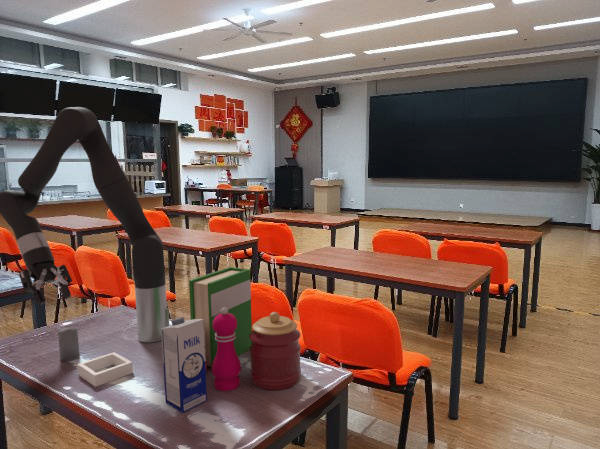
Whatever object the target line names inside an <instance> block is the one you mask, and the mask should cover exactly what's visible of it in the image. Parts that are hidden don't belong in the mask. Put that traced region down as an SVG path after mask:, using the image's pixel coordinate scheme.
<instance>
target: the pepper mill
mask: <svg viewBox="0 0 600 449" xmlns="http://www.w3.org/2000/svg"><path fill="white" fill-rule="evenodd" d="M236 328H237V320H236V318H235V316H234V315H232V314H230V313H228V309H227V308H222V309H221V314H219V315H217V316H216V317H215V318H214V320H213V330H214V331H215V332H216V333H215V340H216V341H217V354H216V356H215V359H214V361H213V364H212V371H211V373H212V375H213V376H214V380H213V381H214V383H213V384H214V389H216V390H218V391H220V392H221V391H222V392H229V391H234V390H236V389H237V388H239V386H240V383H241V381H240V380H241V379H240V373H241V371H242V364H241V361H240V360H241V359H240V358H239V356H237V354H236V351H235V348H234V339H235V338H236V336H235V334H236V333H235V332H234V331H235V329H236Z"/></svg>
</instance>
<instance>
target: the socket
mask: <svg viewBox="0 0 600 449" xmlns="http://www.w3.org/2000/svg"><path fill="white" fill-rule="evenodd" d="M113 365H114V366H113ZM110 366H113V367H110ZM107 367H109V368H107ZM133 367H134V366H133V361H131V360H129V359H127V358H126V357H124V356H122V355H120V354H118V353H116V352H114V351H113V352H111V353H108V354H105V355H101V356H98V357H95V358H93V359H90V360H85V361H84V362H80V363H77V373H78V376H79V377H80V378H82V379H83V380H85V381H86V382H88V383H89V384H90V385H92V386H93V387H95V388H96V387H99V386H101V385H104V384H106V383H110V382H112V381H115V380H119V379H120V378H123V377H126V376H129V375H131V374H133V372H134V370H133ZM105 368H107V369H105ZM102 369H104V370H102ZM99 370H101V371H99ZM96 371H99V372H96Z"/></svg>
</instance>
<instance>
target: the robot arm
mask: <svg viewBox="0 0 600 449" xmlns="http://www.w3.org/2000/svg"><path fill="white" fill-rule="evenodd" d="M102 128H103V127H102V126H101V123H100V121H99V120H98V117H97V116H96V114H95V113H94V112H93V111H92V110H90V109H88V108H87V107H83V106H82V107H81V106H75V107H74V106H73V107H72V106H71V107H65V108H63V109H61V110H60V111H59V112H58V113H57V116H55V119H54V121H53V123H52V125H51V128H50V129H49V132H48V134H47V135H46V136H45V137H46V138H45V139H44V141H43V143H42V145H41V146H40V147H39V149H38V151H37V152H36V154H35V155H34V157H33V158H32V159H31V161H30V162H29V164H28V165H27V166H26V168H24V170H23V171H22V173H21V174H20V175H19V177H18V179H17V184H18V186H19V187H20V188H21V189H22V190H21V191H20V190H13V189H12V190H11V189H5V190H2V191H0V215H1V217H2V218H3V219H4V220H5V222H6V223H7V225H9V227H10V228H11V229H12V231H13V234H14V236H15V239H16V243H17V244H18V245H17V246H18V249H19V251H20V255H21V258H22V259H23V262H24V264H25V267H26V268H25V269H24V270H22V271H21V272H19V273H18V276H19V279H20V282H21V285H22V288H23V291H24V292H25V293H31V294H32V295H33V298H34V300H35V302H36V303H37V304H38V305H44V304H45V303H46V299H45V296H44V294H43V291H42V289H41V287H42V285H43V284H46V283H51V284H52V285H56V286H58V287H59V290H60V292H61V295H62V298H63V299H64V300H68V299H69V298H71V291H70V289H69V284H70V283H72V282H73V279H72V277H71V275H70V273H69V271H68V268H67V267H66V266H67V265H66V264H61V265H60V266H57V265H55V258H54V255H53V252H52V250H51V248H50V247H51V246H50V245H49V243H48V240H47V238H46V237H45V235H44V233H43V230H42V228H41V225H40V222H39V221H38V219H37V218H36V217H33V216H30V215H29V214H30V213H32V212H33V211H34V210H35V209H36V208H37V207H38V204H39V201H40V198H41V195H42V193H43V190H44V189H45V187H46V186H47V185H48V184H49V182H50V181H51V179H52V178H53V177H54V175H55V174H56V172H57V170H58V167H59V164H60V163H61V159H62V157H64V154H65V153H66V152H67V151H68V149H69V148H70V147H72V145H74V144H75V143H76V142H77V141H78V142H79V144H80V145H81V147H82V148H83V151H84V152H85V154H86V155H87V157H88V160H89V165H90V172H91V176H92V179H93V180H92V181H93V183H94V186H95V189H96V190H97V192H98V194H99V196H100V197H101V199H102V201H103V202H104V204H105V205H106V206H107V208H108V210H109V211H110V212H111V213H112V215H113V216H114V217H115V218H116V219H117V220H118V221H119V223H120V224H121V225H122V226H123V229H124V230H125V232H126V235H127V236H128V239H129V240H130V241H129V242H130V243H131V246H132V247H131V261H132V273H133V274H132V275H133V282H134V294H135V295H134V297H135V310H136V324H137V326H136V327H137V339H138V341H139V342H142V343H157V342H162V332H161V328H165V327H168V326H170V315H169V314H170V312H169V308H168V304H167V288H166V287H167V286H166V272H165V252H164V251H165V250H164V248H165V247H164V243H163V241H162V239H161V237H160V236H159V235H158V233H157V232H156V231H155V229H154V228H153V226H152V225H151V223H150V222H149V220H148V219H147V217H146V215H145V212H144V211H143V209H142V206H141V204H140V202H139V199H138V196H137V194H136V193H135V190H134V188H133V187H132V185H131V182H130V181H129V179H128V177H127V175H126V174H125V172H124V170H123V168H122V167H121V164H120V163H119V161H118V159H117V158H116V156H115V154H114V152H113V151H112V149H111V147H110V145H109V143H108V140H107V137H106V136H105V134H104V131H103V129H102ZM32 279H33V280H32Z"/></svg>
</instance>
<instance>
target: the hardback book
mask: <svg viewBox="0 0 600 449" xmlns="http://www.w3.org/2000/svg"><path fill="white" fill-rule="evenodd" d="M251 286H252V285H251V269H250V268H249V269H248V268H241V267H234V266H233V267H232V266H229V267H226V268H222V269H220V270H217V271H214V272H210V273H207V274H204V275H201V276H198V277H196V278H195V277H194V278H192V279H189V280H188V288H189V309H190V320H193V319H204V320H203V324H204V330H205V347H206V365H207V367H210V371H211V372H212V364H213V361H214V359H215V356H216V354H217V341H216V340H215V333H216V332H215V331H214V330H213V320H214V318H215V317H216V316H217V315H219V314H221V309H222V308H227V309H228V313H230V314H232V315H234V316H235V318H236V320H237V328H236V329H235V331H234V332H235V333H236V334H235V336H236V338H235V339H234V348H235V351H236V354H237V356H238V357H239V356H241V355H243V354H245V353H246V352H247V351H250V346H251V340H250V338H249V335H250V333H251V332H252V331H253V329H252V326H253V323H252V320H253V318H252V288H251Z"/></svg>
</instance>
